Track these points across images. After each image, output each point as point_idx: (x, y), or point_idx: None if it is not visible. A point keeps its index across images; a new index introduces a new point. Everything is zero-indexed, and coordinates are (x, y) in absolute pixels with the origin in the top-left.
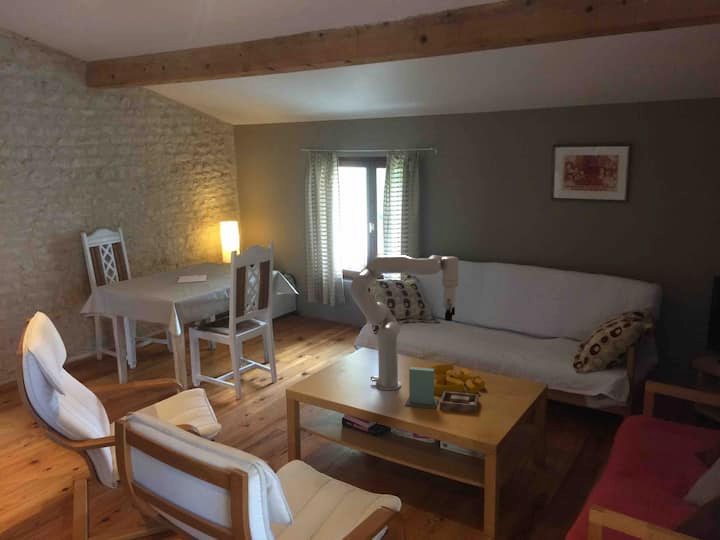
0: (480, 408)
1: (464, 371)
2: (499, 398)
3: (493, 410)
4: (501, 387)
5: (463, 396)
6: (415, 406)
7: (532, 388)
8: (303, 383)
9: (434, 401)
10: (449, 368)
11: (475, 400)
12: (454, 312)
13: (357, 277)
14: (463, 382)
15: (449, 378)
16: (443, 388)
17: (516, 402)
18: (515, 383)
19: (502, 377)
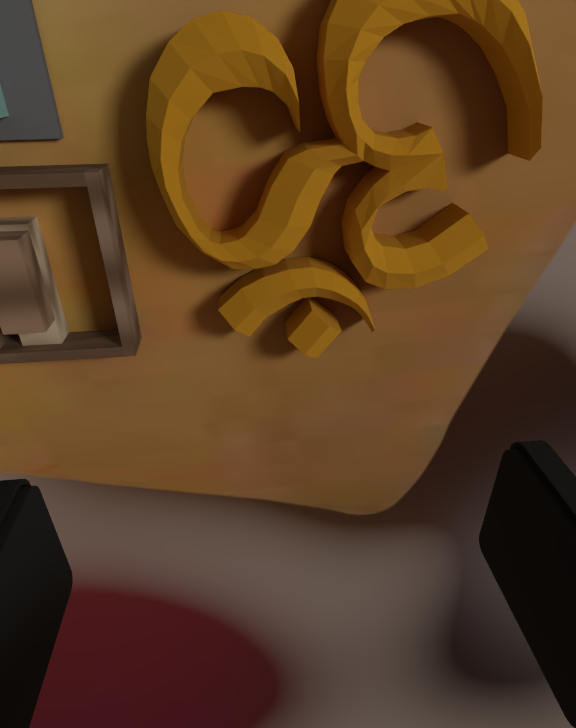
0: None
1: (440, 243)
2: (211, 408)
3: (72, 404)
4: (337, 401)
5: (33, 304)
6: None
7: (349, 493)
8: None
9: (14, 117)
10: (524, 131)
11: (50, 354)
12: (515, 599)
13: None
14: (269, 263)
15: (297, 175)
16: (150, 158)
17: (192, 464)
18: (392, 441)
19: (457, 391)
